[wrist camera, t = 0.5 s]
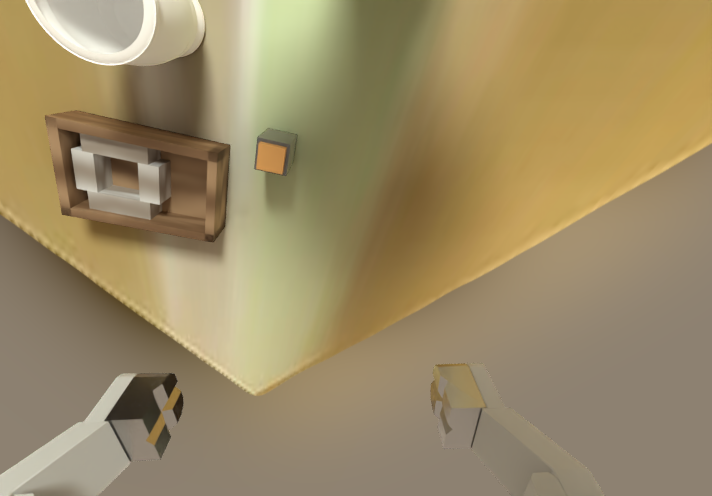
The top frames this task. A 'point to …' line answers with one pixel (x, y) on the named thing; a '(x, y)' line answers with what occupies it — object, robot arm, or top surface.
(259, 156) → the block
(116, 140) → the box
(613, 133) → the top surface
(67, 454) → the robot arm
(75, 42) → the jar
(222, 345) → the top surface
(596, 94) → the top surface
